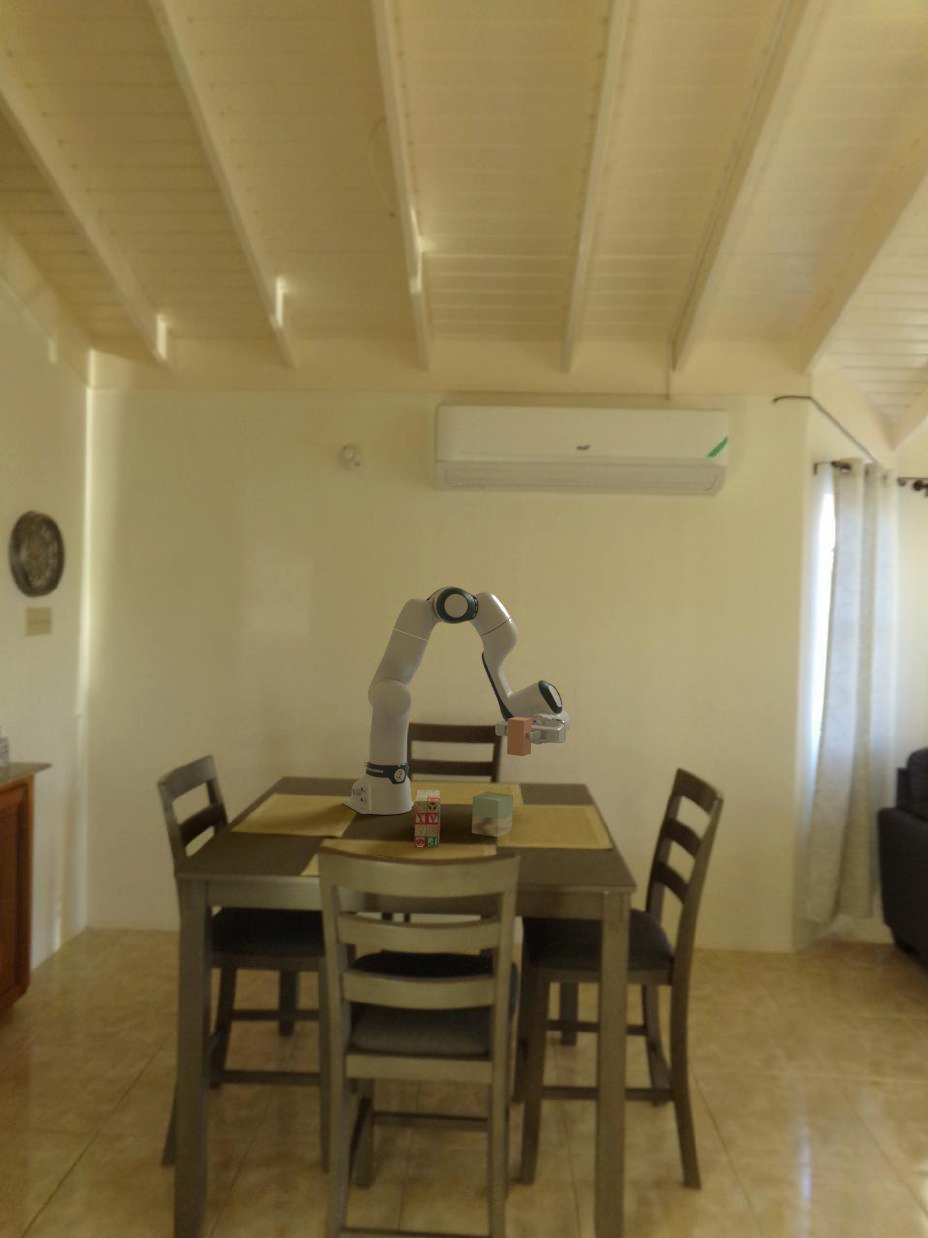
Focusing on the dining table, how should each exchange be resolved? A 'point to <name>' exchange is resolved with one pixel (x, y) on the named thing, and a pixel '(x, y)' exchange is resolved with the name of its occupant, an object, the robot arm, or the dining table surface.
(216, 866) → the dining table surface
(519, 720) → the tall block
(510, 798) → the tower top
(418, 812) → the stack of blocks
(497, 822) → the tower bottom
